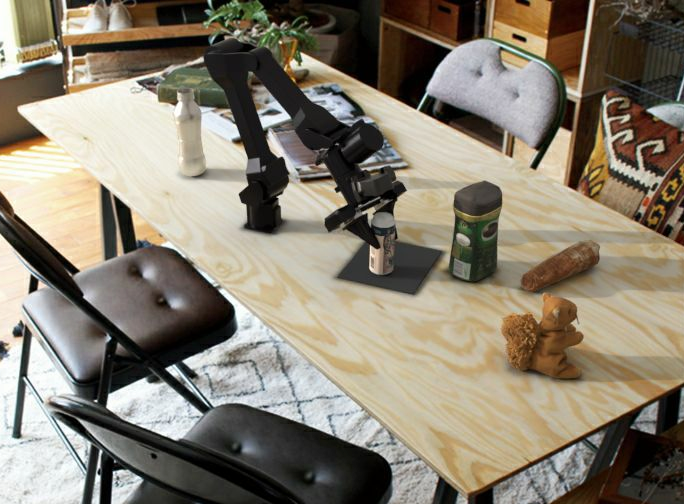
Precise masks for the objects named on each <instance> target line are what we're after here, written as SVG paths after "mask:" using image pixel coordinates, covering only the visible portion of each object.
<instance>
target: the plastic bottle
mask: <svg viewBox="0 0 684 504" xmlns="http://www.w3.org/2000/svg"><path fill="white" fill-rule="evenodd" d="M176 94H177V95H176V96H177V97H176V100H177V101H178V102H177V103H176V104H175V106H174V108H173V111H172V118H173V122H174V126H175V130H176V136H177V143H178V144H177V145H178V146H177V147H178V148H177V149H178V154H177V155H178V156H177V166H178V167H177V168H178V170H179V171H180V173H181V174H182V175H183V176H187V177H197V176H200V175H202V174H203V173H204V172H205V171H206V169H207V159H206V158H207V157H206V155H205V152H204V145H203V140H202V115H203V113H202V110H201V107H200V106H199V104H197V102H196V101H195V97H196V96H195V90H194V89H193V88H191V87H182V88H179V89H177V91H176Z"/></svg>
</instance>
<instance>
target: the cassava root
mask: <svg viewBox="0 0 684 504" xmlns="http://www.w3.org/2000/svg"><path fill="white" fill-rule="evenodd" d="M600 249H601V245H600V244H599V243H597V242H596V241H594V240H592V239H588V240H586V239H585V240H579V241H578V242H575V243H574V244H571V245H570V246H568V247H566V248H564V249H563V250H560V252H558V253H556V254H554V255H552V256H551V257H549V258H547V259H546V260H543V261H542V262H540V263H539V264H537V265H536V266H533V268H531V269H529V270H528V271H526V272H524V273H523V274H522V276H521V279H520V283H521V286H522V288H523V289H524V291H527V292H529V293H532V292H535V291H538V290H540V289H542V288H545V287H547V286H551V285H552V284H555V283H557V282H560V281H561V280H564V279H566V278H568V277H570V276H572V275H575V274H577V273H580V272H583V271H586V270H587V269H591V268H593V267H594V266H596V265H598V264H599V262H600V259H601V257H600Z"/></svg>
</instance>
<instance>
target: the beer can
mask: <svg viewBox="0 0 684 504" xmlns="http://www.w3.org/2000/svg"><path fill="white" fill-rule="evenodd" d="M395 224H396V218H395V216H394V217H393V216H392V215H391V214H389V213H386V212H379V213H377V214H375V215H374V216H373V215H372V218H371V220H370V227H371V229H372V230H373V232H374V234H375V236H376V238H377V239H378V241H379V244H380V246H381V248H379V249H378V250H376V249H375V248H374V247H372V246H371V245H370V267H369V268H370V270H371V271H372V272H373V273H375V274H378V275H386V274H388V273H390V272H392V271H393V263H394V243H395V241H396V240H395Z"/></svg>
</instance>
